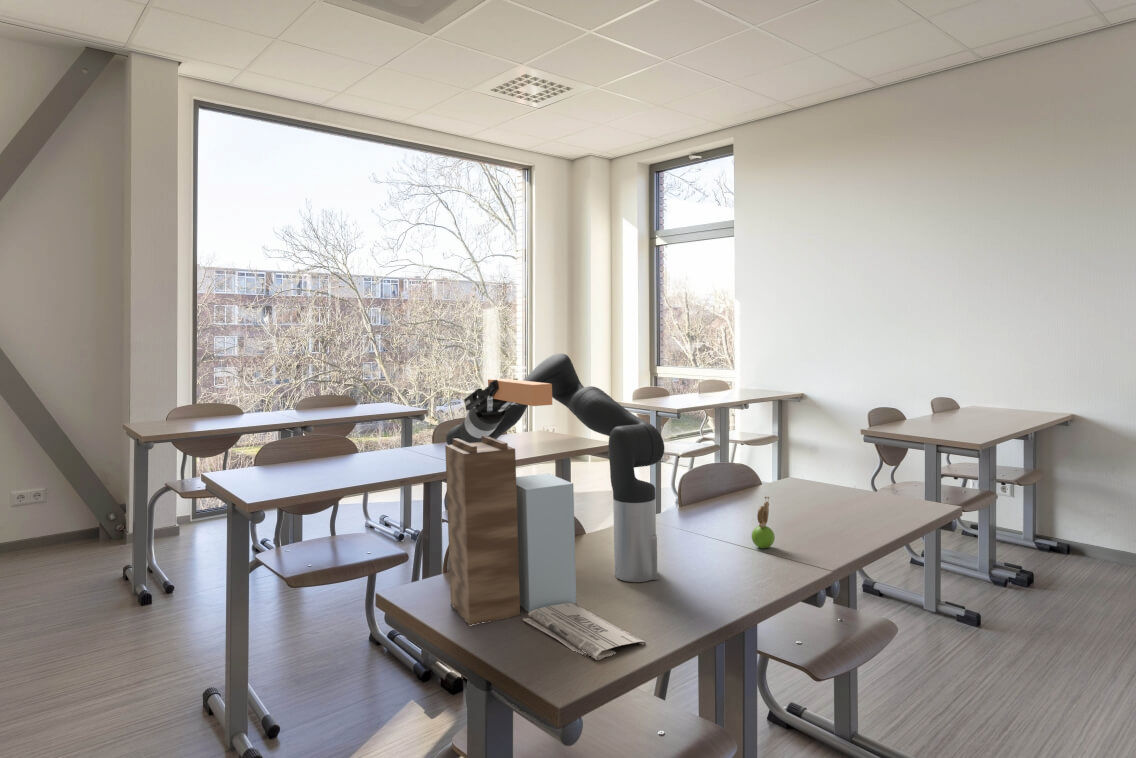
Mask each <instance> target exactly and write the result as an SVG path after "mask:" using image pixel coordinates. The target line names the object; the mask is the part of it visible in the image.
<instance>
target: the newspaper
mask: <svg viewBox="0 0 1136 758" xmlns="http://www.w3.org/2000/svg"><path fill="white" fill-rule="evenodd" d="M527 614H528V617H531V618H528V617H527V618H523V619H522V621H523V622H526V623H527V624H529V625H531V626H532V627H534V628H536V629H538V630H539V631H541V632H543V633H545V634H547V635H549V636H550V637H552V638H554V639H556V640H558V641H559V642H560V643H562V644H563V645H564V646H566V647H567V648H569V649H570V650H571V651H573V652H574V651H576V652H575V653H577V652H579V653H578V654H580V653H583V654H585V655H584V656H586V655H587V654H588V656H587V657H589V656H591V658H592V659H595V660H596V661H599V660H602V659H604V658H605V657H612V655H613V654H614V655H615V654H617V652H616V651H614V650H612V649H613V648H616V647H617V648H618V647H621V646H626V645H630V644H636V643H638V644H639V645H643V646H644V645H647V643H646V641H645V640H643V639H640V638H639V637H637V636H636V635H633V634H631V633H629V632H628V631H626V630H624V629H622V628H621V627H619V626H616V625H614V624H613V623H611V622H609V621H608V620H605V619H603V618H602V617H599V616H598V615H597V614H594V613H593V612H591V611H589V610H587V609H585V608H582V607H581V606H579V605H577V604H576V603H575V604H573V603H565V604H558V605H551V606H547V607H543V608H539V609H535V610H532V611H531V612H528V613H527ZM582 650H583V651H584V652H586V653H587V654H586V653H584V652H583V651H582ZM583 654H582V655H583ZM614 655H613V656H614Z"/></svg>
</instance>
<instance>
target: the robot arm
mask: <svg viewBox="0 0 1136 758" xmlns="http://www.w3.org/2000/svg"><path fill="white" fill-rule="evenodd" d="M512 379H513V380H519V379H518V378H512ZM523 381H531V382H540V383H549V384H552V399H554V400H555V401H557V402H559V403H560V404H562V405H564V406H565V407H566V408H567V409H568V410H569V412H571V413H572V414H573V415H574V416H575V417H576V418H577V419H578V421H580V422H581V423H582V424H583V425H584V426H586V427H587V428H588V429H589V430H591V431H593V432H595V433H598V434H601V435H604V436H607V437H608V459H609V472H610V473H609V474H610V477H609V478H610V484H611V488H612V500H613V502H612V503H613V505H612V506H613V507H612V508H613V509H612V510H613V545H614V546H613V552H614V553H613V555H614V557H613V558H614V560H613V561H614V565H613V566H614V567H613V568H614V577H615V578H616V579H618V580H620V581H624V582H629V583H643V582H649V581H653V580H654V581H656V580H658V536H657V514H656V512H657V511H656V509H657V508H656V507H657V506H656V503H657V502H656V501H657V500H656V487H655V485H654V484H652V483H651V482H648V481H644V480H640V479H638V478H636V474H635V468H641V467H642V468H644V467H650V466H653V465H655V464H657V463H659V462H660V461H661V460H662V459H663V457H664V454H665V443H664V440H663V438H662V435H661V434H660V432H659V430H657V428H656V427H655V426H654V425H652V424H651V423H649V422H648V421H645V420H644V419H642V418H640V417H638V416H637V415H635V414H633V413H632V412H630V411H629V410H628V409H626V408H625V407H624V406H622V405H621V404H619V403H618V402H617V401H616V400H614V399H613V397H611V396H610V395H608V394H607V393H606V392H605V391H604V390H602V389H601V388H599V387H596V386H584V385H583V384H582V383H581V380H580V378H579V376H578V373H577V372H576V370H575V367H574V364H573V362H572V360H571V358H570V357H569V355H568V354H566V353H554V354H552V355H550V356H548V357H546V358H544V359H543V360H542V361H541V362H540V363H539V364H538V365H537V366H535V368H534V369H533V370H531V372H530V373H529V374H528V375H527V376H526V377H525V378H524V379H523ZM498 389H499V385H498V380H493V382H491V383H490V384H489V386H488V385H487V386H486V387H485V388H484V389H482V388H477V389H475V390H474V391H473V392H472V393H470V394H469V395H468V396H466V397H465V398H464V399H463V401H464V406H465V409H466V411H468V412H467V413H466V417H465V418H464V420H463V421H462V423H460V424H458V425H456V426H453V427H452V428H451V429H450V430H449V431H448V432H447V433H446V435H445V437H446V438H445V441H446V445H453V441H452V439H454V438H458V439H461V440H463V441H465V442H468V443H475V442H481V436H489V437H491V438H494V439H497V440H498V438H499V437H501V436H502V435H503V434H504V433H506V432H507V431H508V430H511V428H512V427H514V426H515V425H516V424H517V423H518V422H519V421H520V420H521V418H522V417H523V416H524V413H525V412H526V410H527V408H528V406H529V405H524V404H519V403H514V402H509V401H503V400H498V399H493V396H494V395H495V394H496V392H497V391H498Z"/></svg>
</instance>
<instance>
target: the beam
mask: <svg viewBox="0 0 1136 758" xmlns="http://www.w3.org/2000/svg"><path fill="white" fill-rule="evenodd" d="M513 379H514V378H488V379H487V387H488V386H489V384H490V383H491V382H493V380H498V385H499V389H498V391H497V392H496V394H495V395H494V396H493V399H498V400H503V401H509V402H514V403H519V404H524V405H528V406H531V407H538V406H539V407H540V406H541V407H542V406H552V405H553V397H552V384H549V383H540V382H531V381H523V380H524V379H523V380H520V379H518V380H513Z"/></svg>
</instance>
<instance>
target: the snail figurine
mask: <svg viewBox="0 0 1136 758" xmlns="http://www.w3.org/2000/svg"><path fill="white" fill-rule="evenodd" d="M764 499H765V501H764V502H763V505H761V506H760V507H759V508H758V510H757V515H756V516H757V521H758V523H759V524H758V526H756V527H754V529H753V530H752V533H751V540H752V542H753V544H754V545H755V546H756V547H758V548H760V549H768V548H770V547H771V546H772V545H773V544H774V542H775V539H776V538H775V537H776V536H775V532H774V531H773V530H772V528H771V527H769V526H767V523H768V521H769V511H770V509H769V508H770V507H769V506H770V503H769V499H770V496H764Z"/></svg>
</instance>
